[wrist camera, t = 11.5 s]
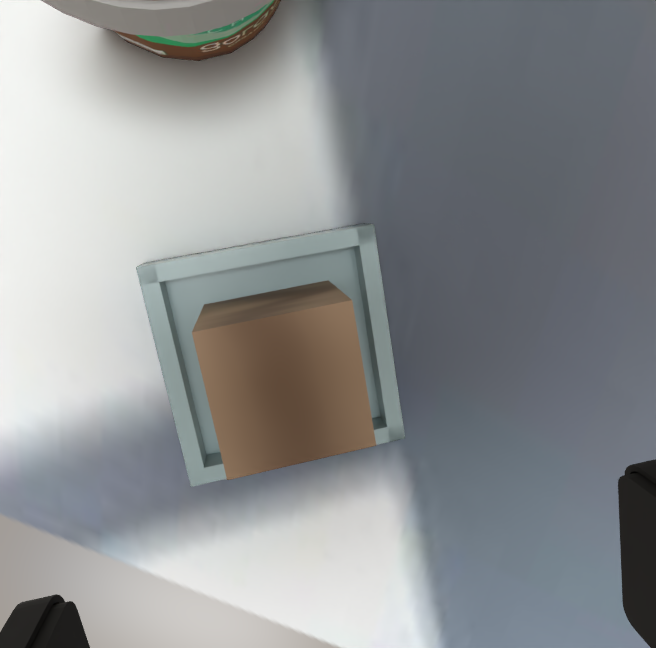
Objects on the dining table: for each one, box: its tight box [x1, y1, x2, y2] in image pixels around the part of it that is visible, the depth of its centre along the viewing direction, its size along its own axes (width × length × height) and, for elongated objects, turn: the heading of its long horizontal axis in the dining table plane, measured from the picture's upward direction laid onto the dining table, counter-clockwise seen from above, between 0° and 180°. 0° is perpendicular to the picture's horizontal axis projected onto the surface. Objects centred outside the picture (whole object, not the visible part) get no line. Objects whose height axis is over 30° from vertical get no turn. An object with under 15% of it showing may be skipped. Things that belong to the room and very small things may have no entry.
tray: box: [136, 223, 405, 487], centre depth 26 cm, size 11×11×2 cm
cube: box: [192, 280, 376, 480], centre depth 23 cm, size 6×6×6 cm
